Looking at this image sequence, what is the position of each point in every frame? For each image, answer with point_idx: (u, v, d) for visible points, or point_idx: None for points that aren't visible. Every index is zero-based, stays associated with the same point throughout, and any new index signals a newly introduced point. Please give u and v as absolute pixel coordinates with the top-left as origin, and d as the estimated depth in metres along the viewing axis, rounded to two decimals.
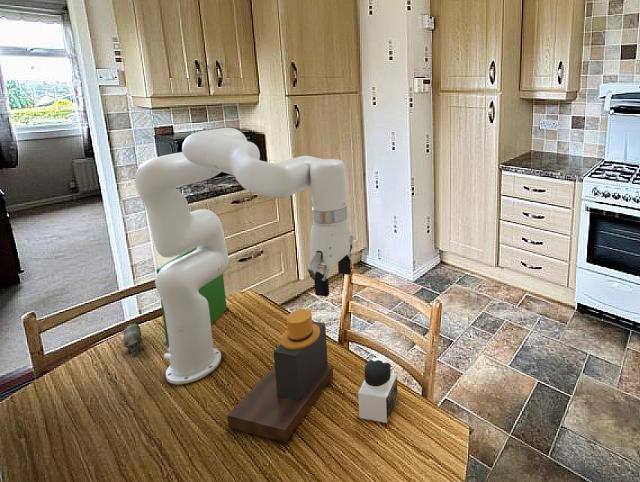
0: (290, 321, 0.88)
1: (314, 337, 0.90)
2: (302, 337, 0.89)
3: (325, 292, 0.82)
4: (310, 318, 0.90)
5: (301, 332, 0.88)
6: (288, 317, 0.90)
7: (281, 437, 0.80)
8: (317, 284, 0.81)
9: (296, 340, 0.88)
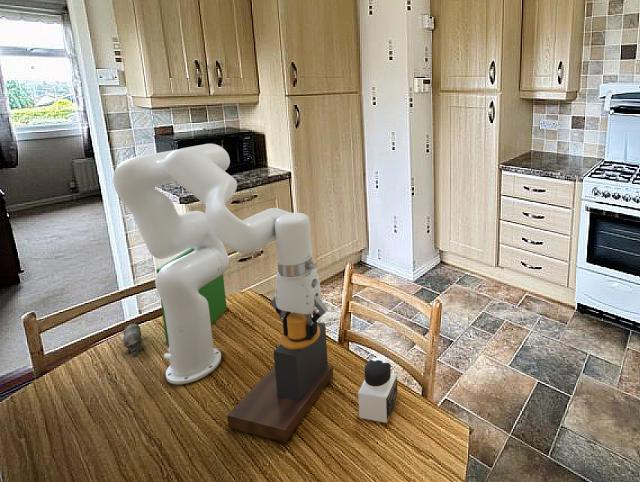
0: (290, 321, 0.88)
1: (314, 337, 0.90)
2: (302, 337, 0.89)
3: None
4: None
5: (301, 332, 0.88)
6: (288, 317, 0.90)
7: (281, 437, 0.80)
8: None
9: (296, 340, 0.88)
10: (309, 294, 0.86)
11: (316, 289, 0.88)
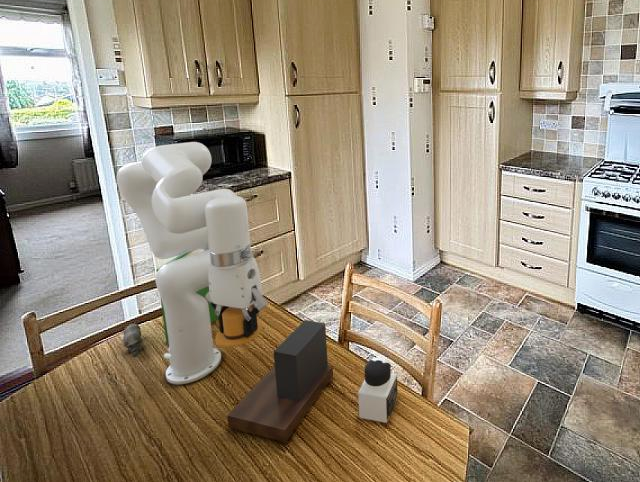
0: (225, 317, 0.79)
1: (253, 334, 0.81)
2: (239, 334, 0.80)
3: None
4: None
5: (237, 328, 0.79)
6: (224, 312, 0.81)
7: (281, 437, 0.80)
8: None
9: (232, 337, 0.79)
10: (245, 286, 0.77)
11: (254, 281, 0.79)
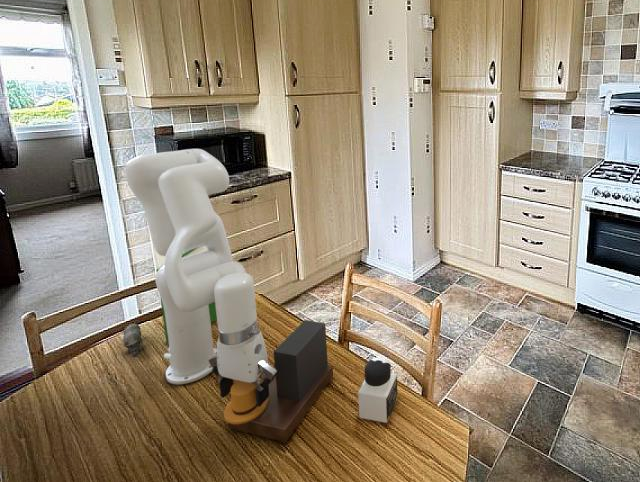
0: (233, 393, 0.82)
1: (260, 408, 0.84)
2: (247, 410, 0.83)
3: None
4: (256, 388, 0.84)
5: (245, 404, 0.82)
6: (232, 387, 0.84)
7: (281, 437, 0.80)
8: None
9: (240, 413, 0.82)
10: (252, 362, 0.80)
11: (260, 355, 0.82)
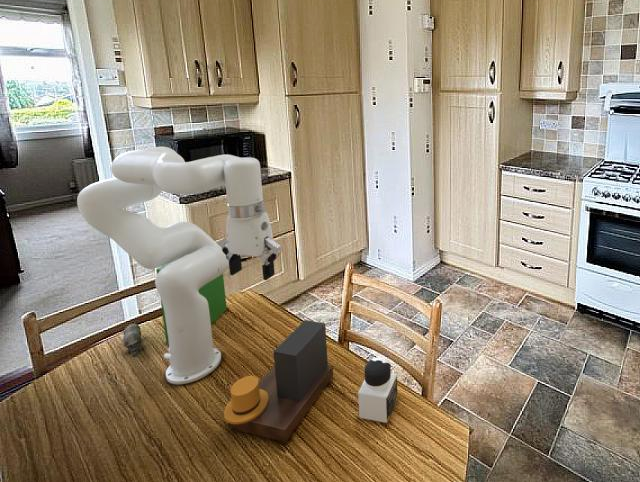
0: (233, 393, 0.82)
1: (260, 408, 0.84)
2: (247, 410, 0.83)
3: None
4: (256, 388, 0.84)
5: (245, 404, 0.82)
6: (232, 387, 0.84)
7: (281, 437, 0.80)
8: None
9: (240, 413, 0.82)
10: (258, 236, 0.88)
11: (266, 232, 0.90)
